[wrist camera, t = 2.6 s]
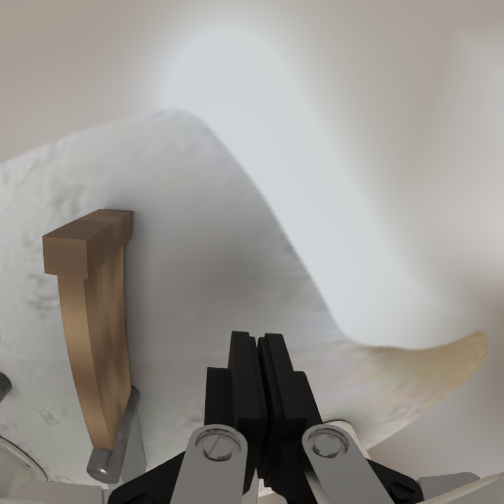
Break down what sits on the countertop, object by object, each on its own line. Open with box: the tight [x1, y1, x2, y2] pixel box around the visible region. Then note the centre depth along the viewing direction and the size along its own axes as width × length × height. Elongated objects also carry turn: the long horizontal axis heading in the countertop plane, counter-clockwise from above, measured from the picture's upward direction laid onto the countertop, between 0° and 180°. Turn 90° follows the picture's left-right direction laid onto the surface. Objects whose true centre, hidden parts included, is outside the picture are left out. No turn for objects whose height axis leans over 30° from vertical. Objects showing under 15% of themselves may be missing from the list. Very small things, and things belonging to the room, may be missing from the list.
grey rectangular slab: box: [108, 411, 146, 490], centre depth 23 cm, size 10×2×8 cm, turn 173°
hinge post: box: [86, 385, 140, 484], centre depth 20 cm, size 2×2×10 cm
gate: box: [42, 209, 132, 451], centre depth 18 cm, size 15×2×8 cm, turn 173°
